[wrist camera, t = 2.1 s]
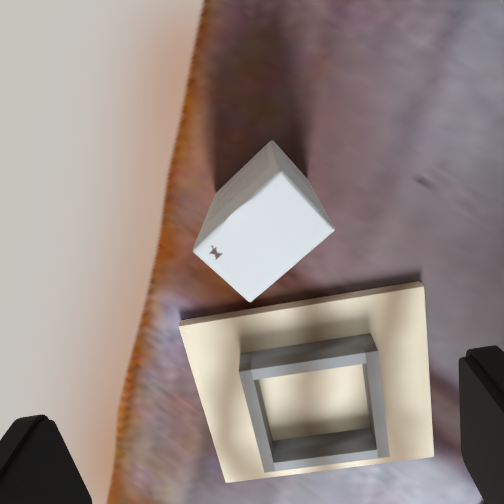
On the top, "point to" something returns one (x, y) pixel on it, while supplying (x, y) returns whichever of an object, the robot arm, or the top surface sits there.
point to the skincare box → (261, 223)
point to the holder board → (315, 382)
